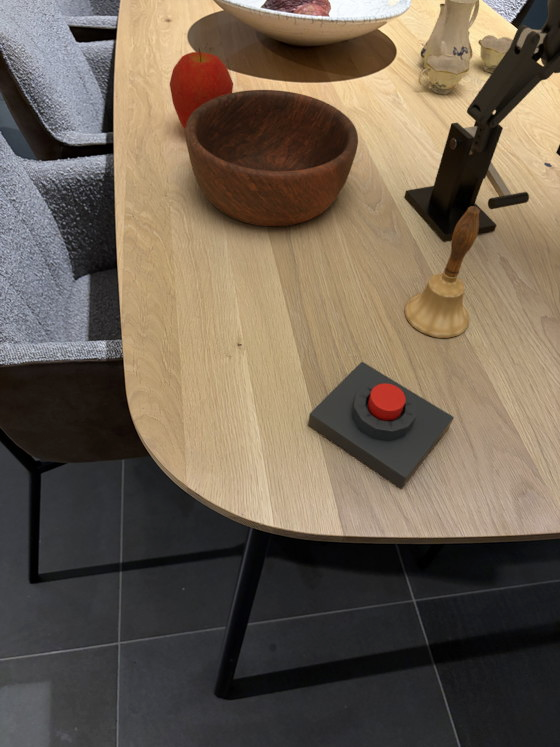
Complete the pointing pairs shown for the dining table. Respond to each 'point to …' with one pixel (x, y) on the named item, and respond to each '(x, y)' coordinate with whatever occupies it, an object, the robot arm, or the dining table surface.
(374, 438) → the push button switch
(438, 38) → the chinaware
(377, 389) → the button
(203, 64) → the apple
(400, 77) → the dining table surface
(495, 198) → the lever
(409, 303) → the hand bell
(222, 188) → the wooden bowl
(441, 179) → the bracket
